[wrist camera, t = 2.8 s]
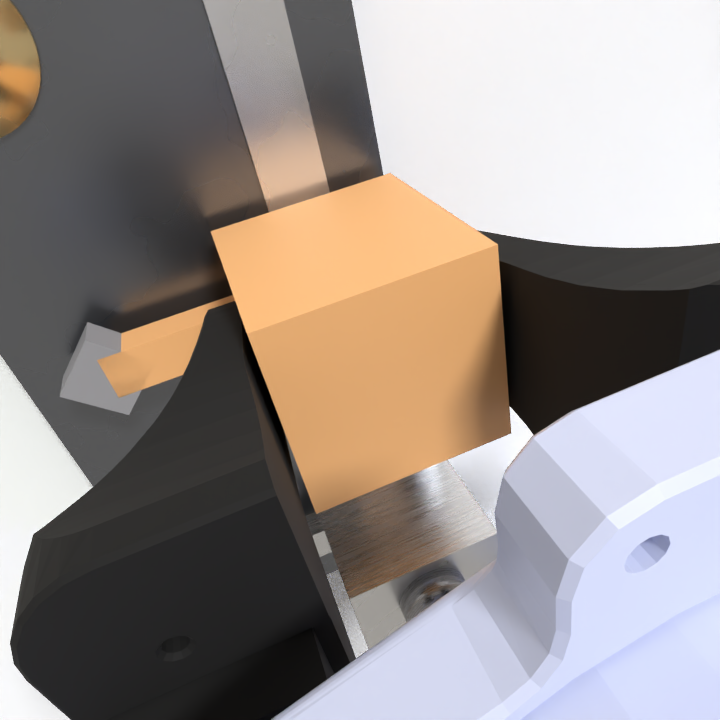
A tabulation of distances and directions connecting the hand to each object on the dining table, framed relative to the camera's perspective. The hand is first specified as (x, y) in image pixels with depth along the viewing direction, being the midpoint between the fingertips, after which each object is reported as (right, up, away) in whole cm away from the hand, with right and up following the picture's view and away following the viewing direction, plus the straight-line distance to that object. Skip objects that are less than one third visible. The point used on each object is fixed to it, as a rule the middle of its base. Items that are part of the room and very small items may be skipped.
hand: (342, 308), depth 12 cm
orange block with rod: (-2, 0, +1) cm, 2 cm away
